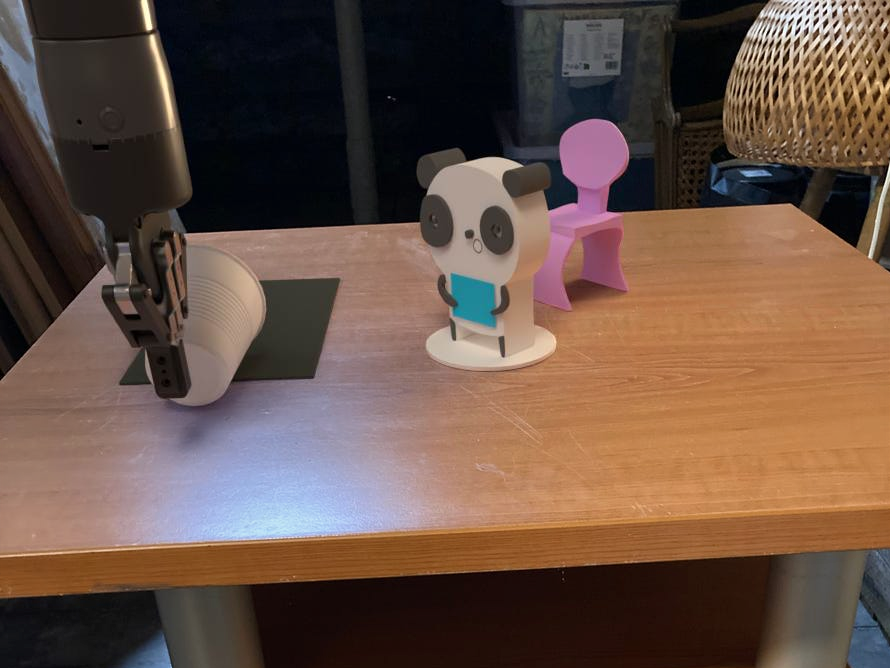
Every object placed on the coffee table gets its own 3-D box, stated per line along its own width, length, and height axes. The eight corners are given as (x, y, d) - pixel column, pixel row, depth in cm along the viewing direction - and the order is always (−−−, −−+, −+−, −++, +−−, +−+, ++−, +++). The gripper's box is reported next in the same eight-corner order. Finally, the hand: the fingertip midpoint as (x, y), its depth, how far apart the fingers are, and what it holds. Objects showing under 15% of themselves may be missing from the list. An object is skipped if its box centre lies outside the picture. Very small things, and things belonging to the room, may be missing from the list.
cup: (281, 385, 76) (291, 311, 83) (183, 288, 70) (203, 217, 77) (189, 449, 80) (206, 373, 87) (89, 362, 74) (116, 288, 81)
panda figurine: (394, 346, 87) (379, 160, 78) (484, 313, 94) (480, 137, 84) (492, 382, 80) (488, 182, 71) (582, 343, 87) (590, 155, 78)
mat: (313, 378, 82) (313, 375, 82) (119, 384, 82) (118, 382, 82) (339, 279, 103) (339, 277, 103) (184, 284, 103) (184, 282, 102)
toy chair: (512, 295, 97) (511, 125, 88) (575, 275, 102) (580, 111, 93) (573, 315, 92) (579, 137, 83) (636, 293, 97) (648, 122, 88)
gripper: (84, 103, 65) (144, 360, 75) (13, 145, 54) (95, 437, 65) (199, 100, 65) (243, 357, 75) (151, 141, 54) (210, 433, 65)
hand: (175, 394), depth 70 cm, fingers closed
